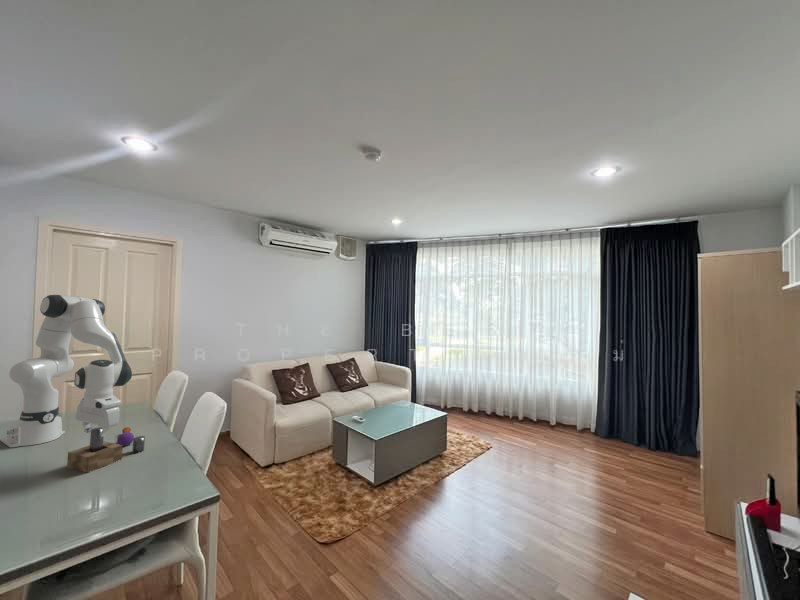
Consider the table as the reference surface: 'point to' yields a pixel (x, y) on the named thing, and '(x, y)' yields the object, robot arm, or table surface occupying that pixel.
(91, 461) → the hole block
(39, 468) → the table surface
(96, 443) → the long pin
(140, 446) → the short pin
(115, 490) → the table surface
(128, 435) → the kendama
